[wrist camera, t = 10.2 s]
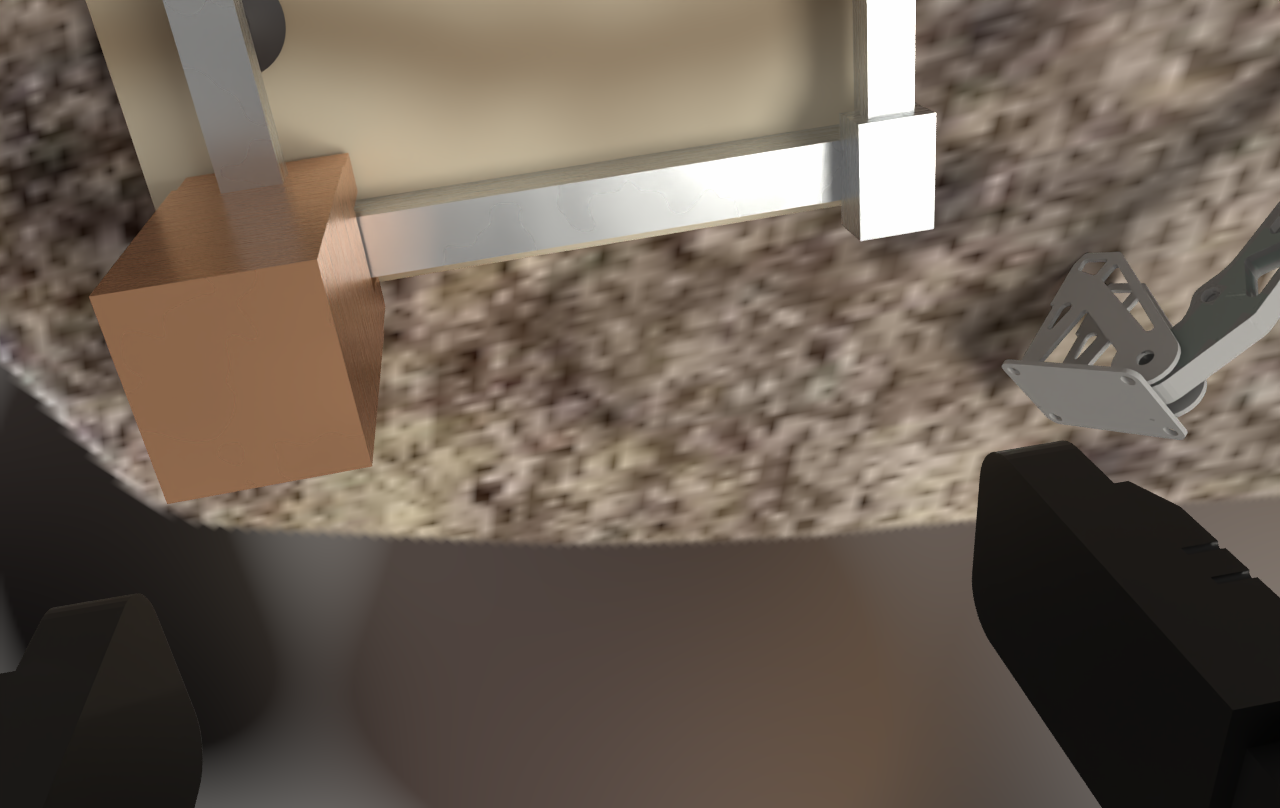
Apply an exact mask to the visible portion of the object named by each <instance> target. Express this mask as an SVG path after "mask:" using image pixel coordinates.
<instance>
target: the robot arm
mask: <svg viewBox="0 0 1280 808" xmlns="http://www.w3.org/2000/svg"><path fill="white" fill-rule="evenodd" d="M972 589H973V597H974V602H975V606H976V610H977V614H978V617H979V620H980V623H981V625H982V628H983V630H984V632H985V634H986V636H987V638H988V640H989V641H990V643H991V644H992V646H993V647H994V649H995V650H996V652H997V653H998V655H999V656H1000V658H1001V659H1002V661H1003V662H1004V663H1005V665H1006V667H1007V668H1008V669H1009V671H1010V672H1011V674H1012V675H1013V677H1014V678H1015V680H1016V681H1017V683H1018V684H1019V686H1020V687H1021V689H1022V690H1023V692H1024V693H1025V695H1026V696H1027V698H1028V699H1029V701H1030V702H1031V704H1032V705H1033V706H1034V708H1035V709H1036V711H1037V712H1038V714H1039V715H1040V717H1041V718H1042V720H1043V721H1044V723H1045V724H1046V726H1047V727H1048V728H1049V730H1050V732H1051V733H1052V734H1053V736H1054V737H1055V739H1056V741H1057V742H1058V743H1059V745H1060V746H1061V748H1062V749H1063V751H1064V752H1065V754H1066V755H1067V757H1068V758H1069V760H1070V761H1071V763H1072V764H1073V766H1074V767H1075V769H1076V770H1077V771H1078V773H1079V775H1080V776H1081V777H1082V779H1083V780H1084V782H1085V783H1086V785H1087V786H1088V788H1089V789H1090V791H1091V792H1092V794H1093V795H1094V797H1095V798H1096V800H1097V801H1098V803H1099V804H1100V806H1101V807H1102V808H1280V598H1279V597H1278V596H1277V595H1276V594H1275V593H1274V592H1273V591H1272V590H1271V589H1270V588H1268V587H1267V586H1266V585H1265V584H1264V583H1263V582H1262V581H1261V580H1260V579H1259V578H1258V577H1257V578H1251V576H1250V574H1249V569H1248V568H1247V567H1246V566H1244V565H1243V564H1242V563H1241V562H1240V561H1239V560H1238V559H1237V558H1236V557H1235V556H1233V555H1232V554H1231V553H1230V552H1229V551H1228V550H1227V549H1226V548H1224V549H1220V548H1219V546H1218V541H1217V540H1216V539H1215V538H1214V537H1213V536H1211V534H1210V533H1208V532H1207V531H1206V530H1205V529H1204V528H1203V527H1202V526H1201V525H1200V524H1199V523H1197V522H1196V521H1195V520H1194V519H1193V518H1192V517H1191V516H1190V515H1189V514H1188V513H1187V512H1186V511H1184V510H1183V509H1182V508H1181V507H1180V506H1178V505H1176V504H1174V503H1172V502H1170V501H1168V500H1166V499H1164V498H1162V497H1160V496H1158V495H1156V494H1154V493H1152V492H1150V491H1148V490H1146V489H1144V488H1142V487H1140V486H1137V485H1135V484H1133V483H1131V482H1129V481H1126V482H1120V483H1113V482H1112V481H1111V480H1110V479H1109V478H1108V477H1107V476H1106V475H1105V474H1104V473H1103V472H1102V471H1101V470H1100V469H1099V468H1098V467H1097V466H1096V465H1095V464H1094V463H1093V462H1092V461H1090V460H1089V459H1088V458H1087V457H1086V456H1085V455H1084V454H1083V453H1082V452H1081V451H1080V450H1079V449H1078V448H1077V447H1076V446H1075V445H1073V444H1072V443H1070V442H1068V441H1057V442H1051V443H1045V444H1039V445H1034V446H1028V447H1022V448H1016V449H1010V450H1004V451H998V452H992V453H990V454H988V455H987V456H986V457H985V459H984V461H983V463H982V467H981V472H980V482H979V494H978V507H977V520H976V532H975V545H974V557H973V570H972ZM202 765H203V753H202V740H201V733H200V727H199V723H198V719H197V716H196V713H195V710H194V708H193V705H192V703H191V700H190V698H189V695H188V693H187V690H186V687H185V685H184V682H183V680H182V677H181V675H180V672H179V670H178V667H177V665H176V662H175V660H174V657H173V655H172V652H171V650H170V647H169V645H168V642H167V640H166V637H165V635H164V632H163V629H162V627H161V625H160V622H159V619H158V617H157V615H156V612H155V610H154V608H153V606H152V604H151V603H150V601H149V600H148V599H147V598H146V597H145V596H143V595H142V594H132V595H126V596H120V597H114V598H109V599H102V600H96V601H90V602H85V603H79V604H73V605H67V606H61V607H55V608H52V609H50V610H49V611H48V612H47V613H46V614H45V615H44V616H43V618H42V620H41V621H40V623H39V626H38V627H37V629H36V631H35V633H34V635H33V637H32V639H31V641H30V643H29V645H28V647H27V649H26V651H25V653H24V655H23V657H22V659H21V661H20V663H19V665H18V667H17V669H16V671H13V672H7V673H1V674H0V808H195V804H196V800H197V795H198V792H199V787H200V783H201V777H202Z"/></svg>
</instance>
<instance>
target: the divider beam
mask: <svg viewBox="0 0 1280 808" xmlns="http://www.w3.org/2000/svg"><path fill="white" fill-rule="evenodd" d="M852 7H853V68H854V111H851V112H845V113H839V122H840V124H837V125H831V126H824V127H818V128H812V129H805V130H799V131H792V132H786V133H780V134H773V135H767V136H761V137H754V138H748V139H742V140H735V141H729V142H723V143H716V144H710V145H703V146H697V147H691V148H684V149H678V150H672V151H665V152H659V153H653V154H646V155H640V156H634V157H627V158H621V159H615V160H608V161H602V162H595V163H589V164H583V165H576V166H570V167H564V168H557V169H551V170H545V171H538V172H532V173H526V174H519V175H513V176H506V177H500V178H494V179H487V180H481V181H475V182H468V183H462V184H456V185H449V186H443V187H437V188H430V189H424V190H417V191H411V192H405V193H398V194H392V195H386V196H379V197H373V198H367V199H360V200H356V202H355V207H354V211H355V215H356V219H357V223H358V227H359V231H360V235H361V240H362V244H363V248H364V252H365V256H366V260H367V264H368V268H369V272H370V277H371V278H372V277H378V276H385V275H391V274H397V273H403V272H409V271H415V270H421V269H427V268H433V267H439V266H445V265H451V264H457V263H463V262H469V261H475V260H481V259H487V258H493V257H500V256H506V255H512V254H518V253H524V252H530V251H536V250H542V249H548V248H554V247H560V246H566V245H572V244H578V243H584V242H590V241H596V240H602V239H608V238H615V237H621V236H627V235H633V234H639V233H645V232H651V231H657V230H663V229H669V228H675V227H681V226H687V225H693V224H699V223H705V222H711V221H717V220H723V219H730V218H736V217H742V216H748V215H754V214H760V213H766V212H772V211H778V210H784V209H790V208H796V207H802V206H808V205H814V204H820V203H826V202H832V201H838V200H841V209H842V226H843V227H845V228H846V229H847V230H848V231H849V232H850V233H852V234H853V235H854V236H855V237H856V238H857V239H859V240H860V241H864V240H870V239H876V238H882V237H888V236H894V235H900V234H906V233H912V232H917V231H923V230H929V229H934V199H935V146H936V112H933V111H931V110H929V109H927V108H925V107H923V106H921V105H919V104H917V103H915V102H914V84H915V0H852Z"/></svg>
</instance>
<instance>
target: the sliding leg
mask: <svg viewBox="0 0 1280 808" xmlns="http://www.w3.org/2000/svg"><path fill="white" fill-rule="evenodd" d="M163 3H164V7H165V10H166V13H167V17H168V20H169V23H170V27H171V30H172V33H173V37H174V40H175V43H176V46H177V50H178V53H179V56H180V60H181V63H182V66H183V70H184V73H185V76H186V80H187V83H188V86H189V90H190V93H191V96H192V100H193V103H194V106H195V110H196V113H197V116H198V119H199V123H200V126H201V129H202V133H203V136H204V139H205V143H206V146H207V149H208V153H209V156H210V159H211V163H212V166H213V169H214V173H213V174H206V175H200V176H193V177H187V178H186V179H185V180H184V181H183V183H182V184H181V185H180V186H179V188H178V189H177V190H174V191H171V192H170V194H169V195H168V196H167V197H166V199H165V200H164V201H163V203H162V204H161V205H160V206H159V208H158V209H157V210H156V211H155V213H154V214H153V215H152V217H151V218H150V219H149V220H148V222H147V223H146V224H145V226H144V227H143V228H142V229H141V231H140V232H139V233H138V235H137V236H136V237H135V238H134V240H133V241H132V242H131V243H130V245H129V246H128V247H127V249H126V250H125V251H124V252H123V254H122V255H121V256H120V258H119V259H118V260H117V261H116V263H115V264H114V265H113V267H112V268H111V269H110V270H109V272H108V273H107V274H106V276H105V277H104V278H103V279H102V281H101V282H100V283H99V284H98V286H97V287H96V288H95V290H94V291H93V292H92V293H91V295H90V296H89V298H90V301H91V303H92V306H93V309H94V311H95V314H96V317H97V319H98V322H99V325H100V327H101V330H102V332H103V335H104V338H105V340H106V343H107V346H108V348H109V351H110V354H111V356H112V359H113V362H114V364H115V367H116V369H117V372H118V375H119V377H120V380H121V383H122V385H123V388H124V391H125V393H126V396H127V399H128V401H129V404H130V406H131V409H132V412H133V414H134V417H135V420H136V422H137V425H138V428H139V430H140V433H141V436H142V438H143V441H144V444H145V446H146V449H147V451H148V454H149V457H150V459H151V462H152V465H153V467H154V470H155V473H156V475H157V478H158V481H159V483H160V486H161V488H162V491H163V494H164V496H165V499H166V502H167V504H170V503H175V502H181V501H186V500H192V499H197V498H203V497H208V496H213V495H219V494H224V493H230V492H235V491H241V490H246V489H252V488H257V487H262V486H268V485H273V484H279V483H284V482H290V481H295V480H300V479H306V478H311V477H317V476H322V475H328V474H333V473H339V472H344V471H349V470H355V469H360V468H366V467H371V466H372V461H373V450H374V439H375V428H376V416H377V405H378V394H379V383H380V372H381V360H382V349H383V338H384V330H383V325H384V314H385V303H384V299H383V295H382V291H381V286H380V282H379V278H378V277H372V278H371V277H370V272H369V268H368V264H367V260H366V256H365V252H364V248H363V244H362V240H361V235H360V231H359V227H358V223H357V219H356V215H355V211H354V207H355V202H356V197H357V192H358V190H357V186H356V182H355V178H354V174H353V170H352V165H351V161H350V157H349V153H344V154H337V155H331V156H324V157H318V158H311V159H305V160H298V161H292V162H285V160H284V156H283V152H282V149H281V145H280V141H279V137H278V134H277V130H276V126H275V122H274V119H273V115H272V111H271V108H270V104H269V100H268V96H267V93H266V89H265V85H264V82H263V78H262V74H261V70H260V67H259V63H258V59H257V56H256V52H255V48H254V44H253V41H252V37H251V33H250V23H249V19H248V17H247V15H246V14H245V11H244V7H243V3H242V0H163Z"/></svg>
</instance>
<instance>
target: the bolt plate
mask: <svg viewBox="0 0 1280 808" xmlns="http://www.w3.org/2000/svg"><path fill="white" fill-rule="evenodd" d="M86 3H87V6H88V9H89V12H90V15H91V18H92V21H93V24H94V27H95V30H96V33H97V36H98V39H99V42H100V45H101V48H102V51H103V54H104V57H105V60H106V63H107V66H108V69H109V72H110V75H111V78H112V81H113V84H114V87H115V90H116V93H117V96H118V99H119V102H120V105H121V108H122V111H123V114H124V117H125V120H126V123H127V126H128V129H129V132H130V135H131V138H132V141H133V144H134V147H135V150H136V153H137V156H138V159H139V162H140V165H141V168H142V171H143V174H144V177H145V180H146V183H147V186H148V189H149V192H150V195H151V198H152V201H153V204H154V207H155V210H157V209H158V208H159V206H160V205H161V204H162V203H163V201H164V200H165V199H166V197H167V196H168V195H169V194H170V192H171V191H174V190H177V189H178V188H179V186H180V185H181V184H182V183H183V181H184V180H185V179H186V178H187V177H193V176H200V175H206V174H213V173H214V169H213V166H212V163H211V159H210V156H209V153H208V149H207V146H206V143H205V139H204V136H203V133H202V129H201V126H200V123H199V119H198V116H197V113H196V110H195V106H194V103H193V100H192V96H191V93H190V90H189V86H188V83H187V80H186V76H185V73H184V70H183V66H182V63H181V60H180V56H179V53H178V50H177V46H176V43H175V40H174V37H173V33H172V30H171V27H170V23H169V20H168V17H167V13H166V10H165V7H164V3H163V0H86ZM242 3H243V7H244V11H245V14H246V15H247V17H248V19H249V23H250V33H251V37H252V41H253V44H254V48H255V52H256V56H257V59H258V63H259V67H260V70H261V74H262V78H263V82H264V85H265V89H266V93H267V96H268V100H269V104H270V108H271V111H272V115H273V119H274V122H275V126H276V130H277V134H278V137H279V141H280V145H281V149H282V152H283V156H284V160H285V162H292V161H298V160H305V159H311V158H318V157H324V156H331V155H337V154H344V153H349V157H350V161H351V165H352V170H353V174H354V178H355V182H356V186H357V190H358V192H357V197H356V200H360V199H367V198H373V197H379V196H386V195H392V194H398V193H405V192H411V191H417V190H424V189H430V188H437V187H443V186H449V185H456V184H462V183H468V182H475V181H481V180H487V179H494V178H500V177H506V176H513V175H519V174H526V173H532V172H538V171H545V170H551V169H557V168H564V167H570V166H576V165H583V164H589V163H595V162H602V161H608V160H615V159H621V158H627V157H634V156H640V155H646V154H653V153H659V152H665V151H672V150H678V149H684V148H691V147H697V146H703V145H710V144H716V143H723V142H729V141H735V140H742V139H748V138H754V137H761V136H767V135H773V134H780V133H786V132H792V131H799V130H805V129H812V128H818V127H824V126H831V125H837V124H840V122H839V113H845V112H851V111H854V68H853V7H852V0H242ZM840 205H841V200H838V201H832V202H826V203H820V204H814V205H808V206H802V207H796V208H790V209H784V210H778V211H772V212H766V213H760V214H754V215H748V216H742V217H736V218H730V219H723V220H717V221H711V222H705V223H699V224H693V225H687V226H681V227H675V228H669V229H663V230H657V231H651V232H645V233H639V234H633V235H627V236H621V237H615V238H608V239H602V240H596V241H590V242H584V243H578V244H572V245H566V246H560V247H554V248H548V249H542V250H536V251H530V252H524V253H518V254H512V255H506V256H500V257H493V258H487V259H481V260H475V261H469V262H463V263H457V264H451V265H445V266H439V267H433V268H427V269H421V270H415V271H409V272H403V273H397V274H391V275H385V276H378V278H379V282H381V281H388V280H394V279H400V278H406V277H412V276H418V275H424V274H430V273H436V272H442V271H448V270H454V269H460V268H466V267H472V266H478V265H484V264H490V263H496V262H502V261H508V260H514V259H520V258H526V257H532V256H538V255H544V254H550V253H556V252H562V251H568V250H575V249H581V248H587V247H593V246H599V245H605V244H611V243H617V242H623V241H629V240H635V239H641V238H647V237H653V236H659V235H665V234H671V233H677V232H683V231H689V230H695V229H701V228H707V227H713V226H719V225H725V224H731V223H737V222H743V221H749V220H755V219H762V218H768V217H774V216H780V215H786V214H792V213H798V212H804V211H810V210H816V209H822V208H828V207H834V206H840Z"/></svg>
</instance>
